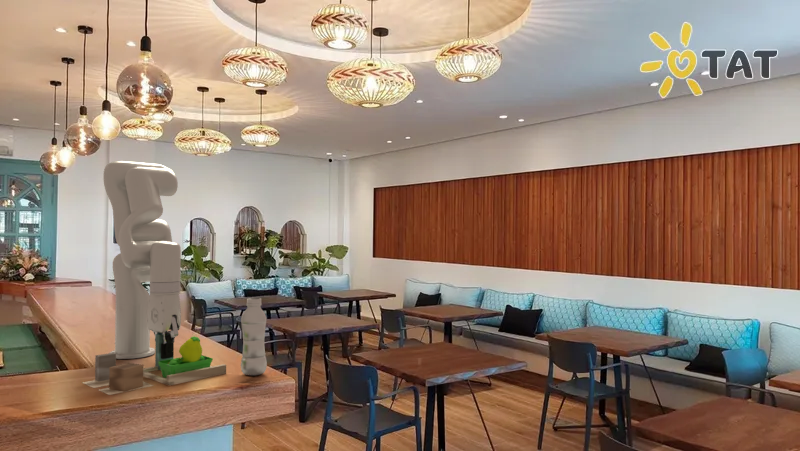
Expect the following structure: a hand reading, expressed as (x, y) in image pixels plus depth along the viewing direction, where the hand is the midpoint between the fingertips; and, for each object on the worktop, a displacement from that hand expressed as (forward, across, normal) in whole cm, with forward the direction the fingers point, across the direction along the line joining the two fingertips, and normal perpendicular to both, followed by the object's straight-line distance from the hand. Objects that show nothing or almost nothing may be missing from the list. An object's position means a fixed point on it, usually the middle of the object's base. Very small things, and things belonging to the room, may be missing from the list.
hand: (164, 356), depth 146 cm
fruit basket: (+4, +12, 0) cm, 13 cm away
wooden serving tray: (+4, +8, 0) cm, 9 cm away
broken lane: (+4, +7, -15) cm, 17 cm away
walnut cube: (+3, +12, -15) cm, 19 cm away
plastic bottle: (+4, +20, +14) cm, 25 cm away
